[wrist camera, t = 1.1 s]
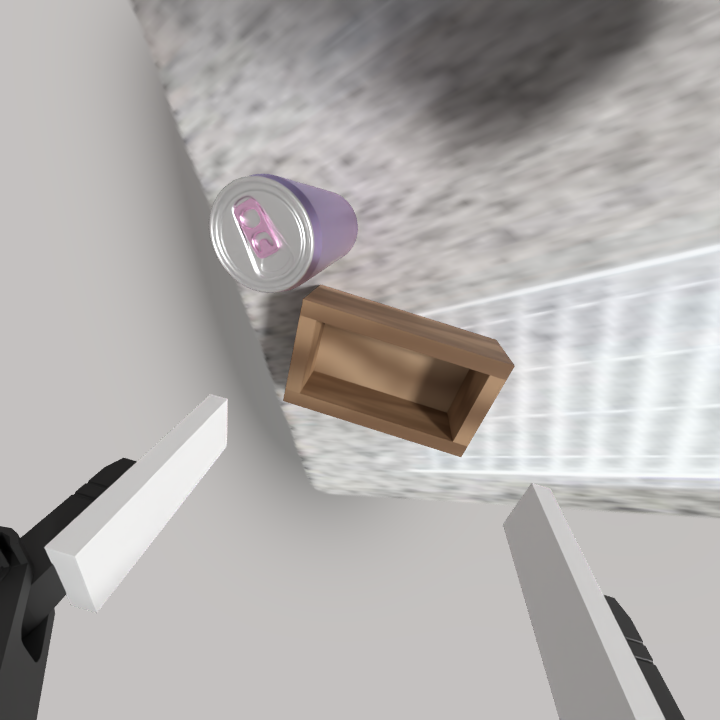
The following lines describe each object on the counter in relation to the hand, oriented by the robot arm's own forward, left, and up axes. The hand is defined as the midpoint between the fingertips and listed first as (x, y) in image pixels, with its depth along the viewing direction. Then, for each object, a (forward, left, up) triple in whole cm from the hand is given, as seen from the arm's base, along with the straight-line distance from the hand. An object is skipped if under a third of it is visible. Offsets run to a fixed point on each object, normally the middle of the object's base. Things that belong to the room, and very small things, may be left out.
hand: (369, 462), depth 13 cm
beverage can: (-6, -9, -21) cm, 24 cm away
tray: (+5, +1, -21) cm, 22 cm away
